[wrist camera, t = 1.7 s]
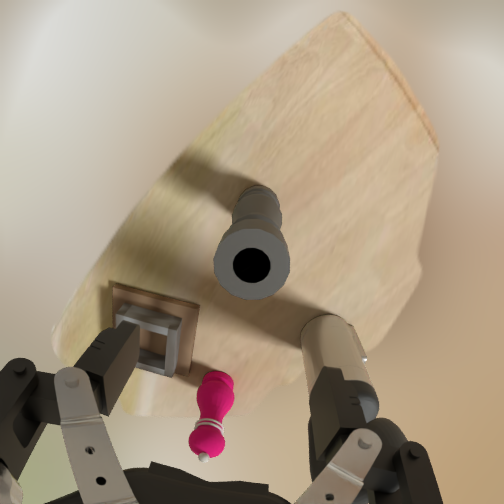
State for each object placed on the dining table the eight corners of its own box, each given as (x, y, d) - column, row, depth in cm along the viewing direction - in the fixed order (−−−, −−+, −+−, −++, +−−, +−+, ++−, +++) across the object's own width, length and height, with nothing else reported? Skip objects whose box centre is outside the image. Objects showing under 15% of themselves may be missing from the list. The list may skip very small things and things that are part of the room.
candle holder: (282, 220, 47) (300, 295, 23) (243, 229, 47) (221, 309, 24) (274, 181, 45) (285, 216, 21) (233, 190, 46) (200, 234, 22)
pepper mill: (200, 366, 57) (178, 446, 38) (236, 370, 57) (226, 453, 38) (201, 391, 59) (182, 468, 40) (235, 395, 59) (226, 474, 40)
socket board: (200, 305, 52) (193, 321, 47) (189, 371, 57) (184, 390, 52) (116, 283, 52) (102, 297, 46) (116, 350, 57) (106, 366, 52)
